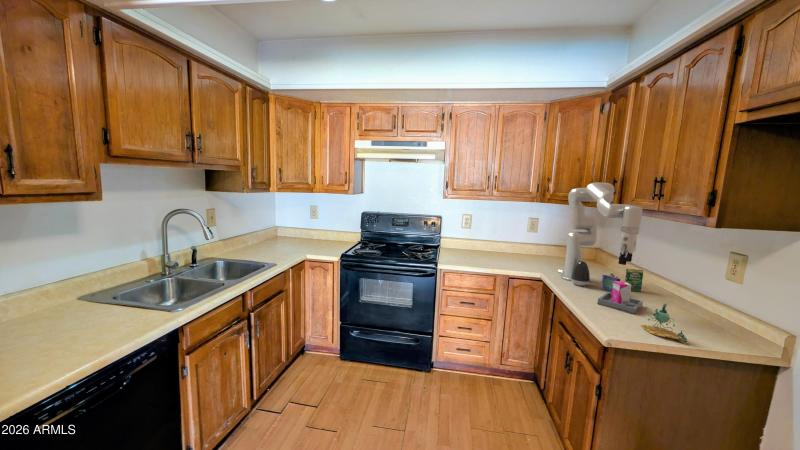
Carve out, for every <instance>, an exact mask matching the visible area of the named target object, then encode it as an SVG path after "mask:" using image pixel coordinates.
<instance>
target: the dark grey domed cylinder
mask: <svg viewBox="0 0 800 450" xmlns="http://www.w3.org/2000/svg"><path fill="white" fill-rule="evenodd" d="M590 275H591V273H590V268H589V266H588V264H587V262H586V261H584V260H582V261H580V260H579V262H578V263H577V264H576V265H575V267H574V269H573V272H572V275H571V278H572V281H571V282H572V283H573V284H574V285H576V286H579V287H585V286H587V285H588V284H589V282H590V280H591V276H590Z"/></svg>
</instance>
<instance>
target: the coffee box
mask: <svg viewBox="0 0 800 450" xmlns="http://www.w3.org/2000/svg"><path fill="white" fill-rule="evenodd" d="M643 278H644V270H643V269H635V268H626V272H625V279H624V282H626V283H629V284H631V292H638V293H642V287H643Z"/></svg>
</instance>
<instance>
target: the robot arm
mask: <svg viewBox="0 0 800 450" xmlns="http://www.w3.org/2000/svg"><path fill="white" fill-rule="evenodd" d="M569 191H570V192H569V193H568V197H567V200H568V201H567V202H568V206H569V221H568V222H569V228H570V229H572V230H580V231H570V232H568V233H567V235H566V237H565V241H566V251H565V253H566V254H565V259H564V260H565V262H564V269H559V268H558V270H557V273H558V274H561V275H560V277H561V278H562V279H564V280H565V281H566V280H567V281H571V282H572V278H571V275H572V272H573V269H574V267H575V265H576V264H577V263H578V262H579V260H580V261H583V256H584V254H583V253H584V252H583V251H582V248H581V247H594V246H595V245H596V243H597V236H598V235H597V233H598V232H597V229H598V224H597V223H598V222H597V218H595V216H593V215H588V214H586V213H585V211H586V210H585V206H584V204H583V203H582V202H587V203H588V202H594V203H595V202H596V209H597V211H598V212H599V213H600V214H601V215H602V216H604V217H605V218H607V219H621V221H622V222H621V227H620V233H622V234H621V238H620V239H621V240H620V244H619V251H620V252H619V255H618V256H619V257H618V264H619V265H623V266H626V265H627V262H629V263H631V262H632V261H633V253H634V252H635V253H636V249H637V239H638V235H639V233H640V229H641V222H642V216H643V215H642V214H643V208H642V207H641V206H636V205H631V204H627V203H626V204H621V203H612V202H613V201H614V197H615V196H614V193H615V187H614V185H613V184H611V183H609V182H597V181H596V182H591V183H589V184H587V186H586V187H576V188H573V189H571V190H569ZM585 214H586V215H585ZM583 230H584V231H583Z"/></svg>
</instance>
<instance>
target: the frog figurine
mask: <svg viewBox="0 0 800 450" xmlns="http://www.w3.org/2000/svg"><path fill="white" fill-rule="evenodd" d="M667 306H668V304H667V303H663V304H662V308H661V309H658V308H656V309H655V310H654V313H652V316H653V317H652V316H651V314H650V313H648V314H647V316H648V317H650V318H648V319H647V320H648V321H651V320H652V321H654V322H655V324H653V325H647V324H640V326H641V327H642V328H643V330H646V331H647V332H648V333H649V334H653V335H655V336H658V337H663V338H669V339H674V340H675V341H676V342H680V343H682V344H685V345H689V346H690V344H689V341H688V339H687V338H686V335H685V334H683V330H681V331H680V332H678V333H677V332H674V329H673V328H672V327H671V326H670V327H668V326H669V324H670V323H671V322H672V320H673V321H675V320H674V319H673V318H672V317H671V318H670V315H669V313H668V311H667V309H666V308H667ZM654 319H655V320H654ZM663 324H665V325H666V326H667V327H665V326H664V325H663ZM672 326H673V327H676V325H675V324H672ZM669 329H671V330H669Z"/></svg>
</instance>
